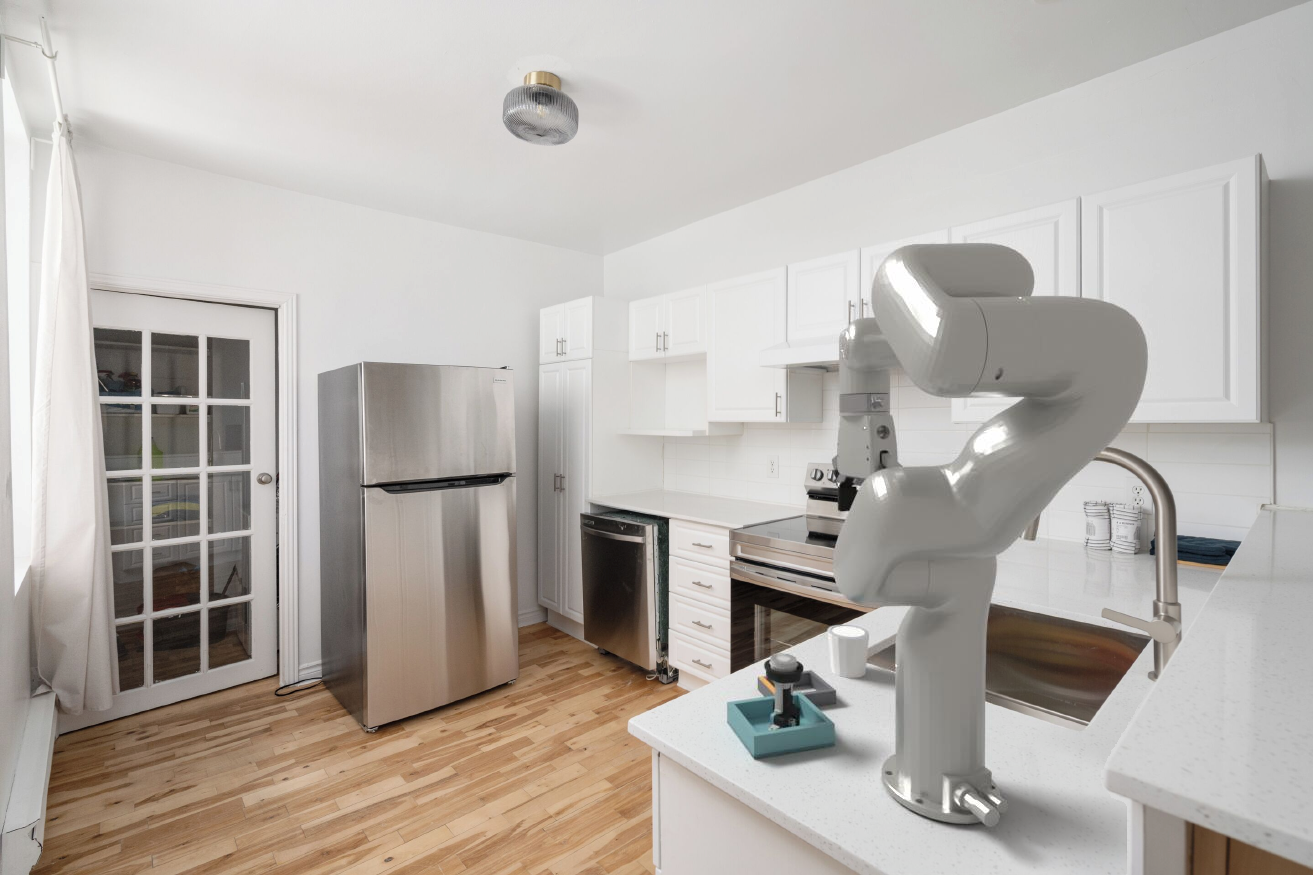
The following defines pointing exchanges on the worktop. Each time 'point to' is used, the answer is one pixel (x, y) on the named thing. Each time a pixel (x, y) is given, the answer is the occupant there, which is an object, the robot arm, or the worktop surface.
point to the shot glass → (848, 650)
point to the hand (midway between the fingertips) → (864, 515)
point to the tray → (760, 742)
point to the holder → (819, 697)
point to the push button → (784, 689)
